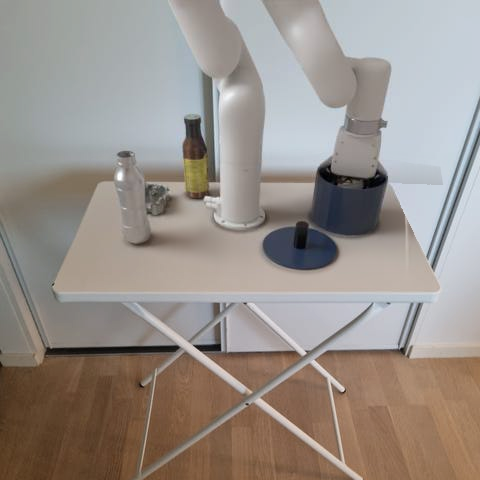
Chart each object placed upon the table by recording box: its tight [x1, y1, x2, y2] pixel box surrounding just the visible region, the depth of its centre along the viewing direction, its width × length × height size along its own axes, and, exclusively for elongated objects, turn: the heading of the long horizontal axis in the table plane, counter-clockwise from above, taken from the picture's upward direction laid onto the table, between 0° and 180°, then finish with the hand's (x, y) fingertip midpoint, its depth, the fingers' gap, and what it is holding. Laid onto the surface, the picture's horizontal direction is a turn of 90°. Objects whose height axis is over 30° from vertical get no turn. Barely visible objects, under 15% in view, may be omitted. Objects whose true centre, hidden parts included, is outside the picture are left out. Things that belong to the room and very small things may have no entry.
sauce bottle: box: [181, 113, 210, 199], centre depth 116 cm, size 7×6×20 cm
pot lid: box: [262, 220, 338, 271], centre depth 102 cm, size 17×17×7 cm
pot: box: [310, 165, 389, 236], centre depth 111 cm, size 16×16×12 cm
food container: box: [337, 175, 364, 189], centre depth 110 cm, size 12×6×10 cm, turn 168°
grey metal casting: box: [145, 182, 170, 216], centre depth 117 cm, size 11×8×4 cm
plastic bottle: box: [113, 150, 152, 244], centre depth 99 cm, size 6×7×20 cm
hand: (347, 200), depth 111 cm, fingers closed on food container, 6 cm apart
